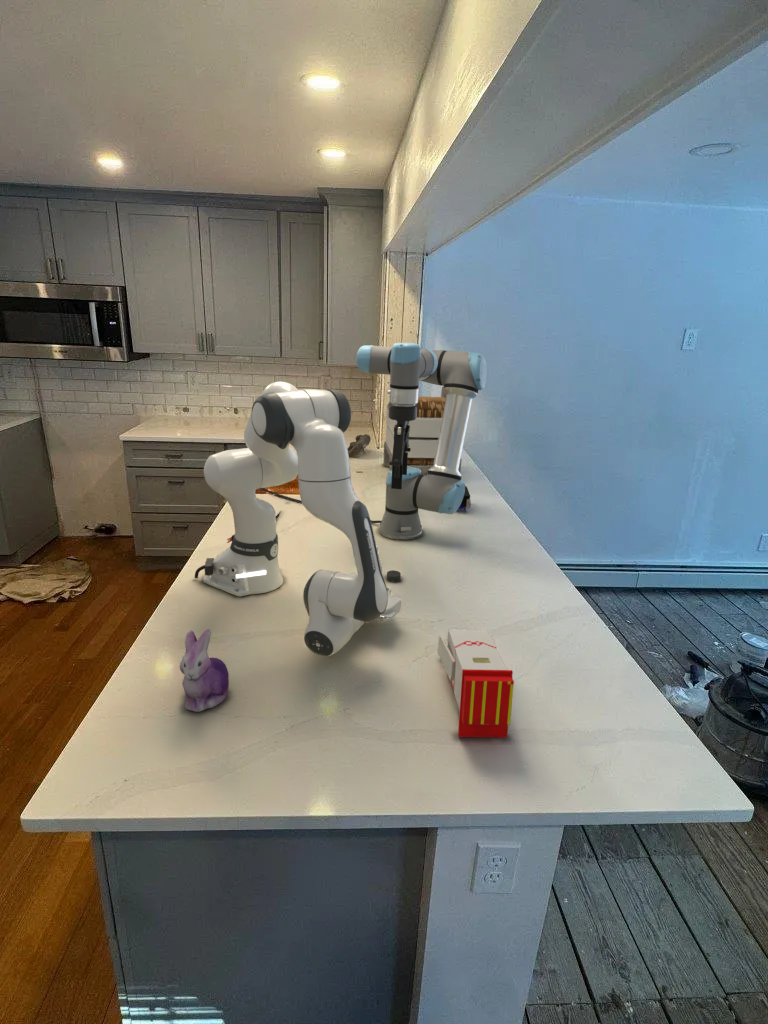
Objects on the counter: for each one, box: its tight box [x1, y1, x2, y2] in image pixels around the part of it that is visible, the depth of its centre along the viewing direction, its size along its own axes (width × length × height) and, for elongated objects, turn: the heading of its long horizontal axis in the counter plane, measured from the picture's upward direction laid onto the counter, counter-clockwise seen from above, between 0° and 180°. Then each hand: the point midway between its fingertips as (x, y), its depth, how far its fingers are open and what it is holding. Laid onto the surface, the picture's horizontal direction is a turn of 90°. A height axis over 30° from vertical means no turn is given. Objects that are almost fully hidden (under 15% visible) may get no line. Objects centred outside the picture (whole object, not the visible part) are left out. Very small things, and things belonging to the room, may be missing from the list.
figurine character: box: [456, 485, 472, 513], centre depth 228 cm, size 7×8×15 cm
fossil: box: [347, 433, 372, 458], centre depth 305 cm, size 22×10×15 cm
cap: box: [386, 569, 402, 583], centre depth 166 cm, size 4×4×2 cm
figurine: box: [179, 628, 230, 713], centre depth 110 cm, size 9×10×15 cm
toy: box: [437, 628, 515, 738], centre depth 117 cm, size 12×13×30 cm
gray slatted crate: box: [383, 386, 463, 475], centre depth 268 cm, size 34×33×41 cm
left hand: (372, 587), depth 148 cm, fingers open, 8 cm apart
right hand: (399, 481), depth 157 cm, fingers open, 13 cm apart
